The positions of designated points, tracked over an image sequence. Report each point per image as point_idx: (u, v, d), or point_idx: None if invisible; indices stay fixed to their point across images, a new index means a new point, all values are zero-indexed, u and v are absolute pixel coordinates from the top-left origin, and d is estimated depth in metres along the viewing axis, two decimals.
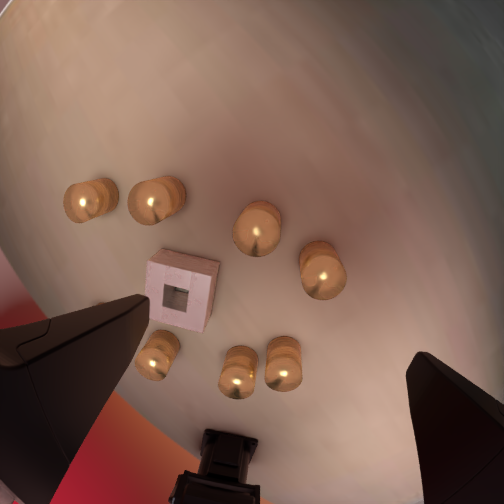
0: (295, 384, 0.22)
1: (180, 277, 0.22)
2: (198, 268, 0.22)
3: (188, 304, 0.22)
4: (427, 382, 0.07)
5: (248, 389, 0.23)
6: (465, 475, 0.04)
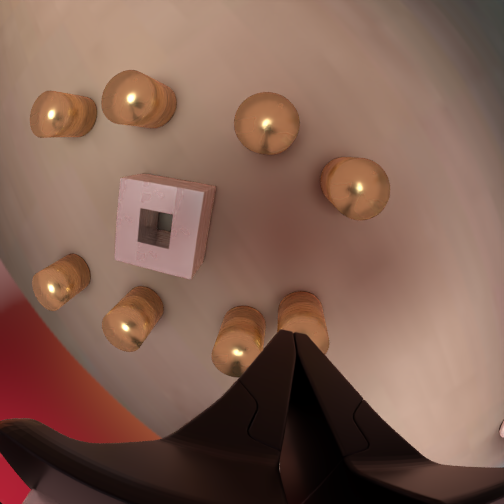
0: None
1: (162, 197, 0.15)
2: (187, 186, 0.16)
3: (172, 236, 0.16)
4: None
5: None
6: (309, 489, 0.04)
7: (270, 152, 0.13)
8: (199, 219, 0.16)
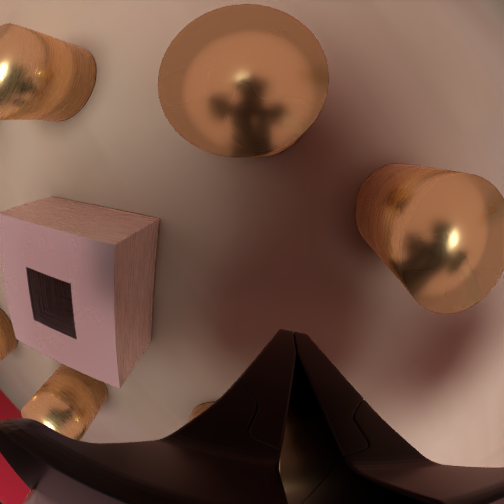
0: None
1: (50, 250, 0.07)
2: (94, 227, 0.08)
3: (76, 320, 0.08)
4: None
5: None
6: (310, 489, 0.04)
7: (250, 151, 0.05)
8: (114, 296, 0.07)
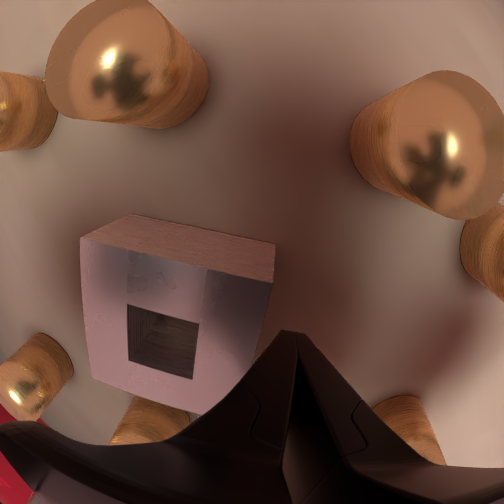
0: None
1: (173, 286, 0.07)
2: (227, 259, 0.08)
3: (198, 361, 0.08)
4: None
5: None
6: (308, 489, 0.04)
7: (465, 216, 0.05)
8: (258, 335, 0.07)
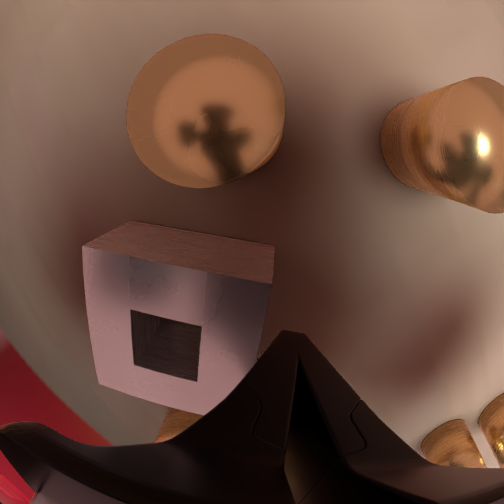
0: None
1: (174, 290, 0.07)
2: (226, 262, 0.08)
3: (202, 363, 0.08)
4: None
5: None
6: (306, 489, 0.04)
7: None
8: (260, 335, 0.07)
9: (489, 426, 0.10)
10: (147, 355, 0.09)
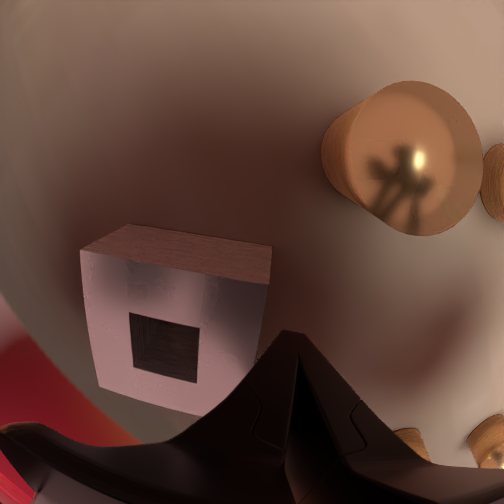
0: None
1: (172, 293, 0.07)
2: (223, 263, 0.08)
3: (201, 364, 0.08)
4: None
5: None
6: (307, 489, 0.04)
7: None
8: (258, 336, 0.07)
9: None
10: (147, 357, 0.09)
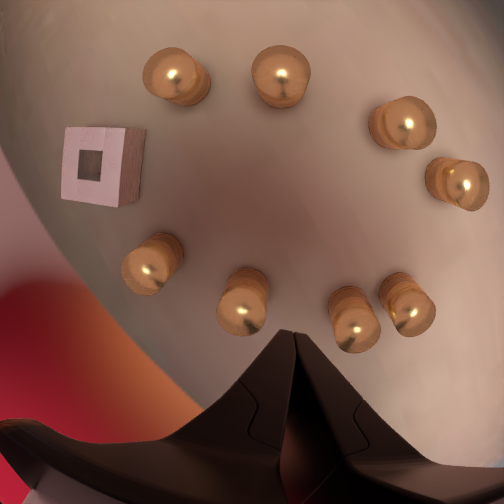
0: (426, 325, 0.17)
1: (95, 137, 0.16)
2: None
3: (102, 169, 0.17)
4: None
5: (373, 337, 0.18)
6: (310, 489, 0.04)
7: (415, 148, 0.14)
8: (122, 152, 0.16)
9: (384, 296, 0.20)
10: (84, 178, 0.18)
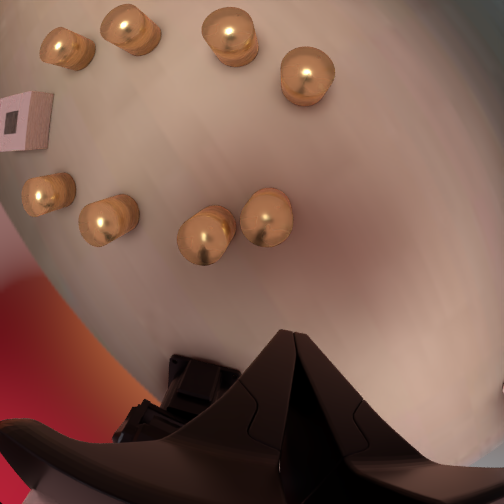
0: (284, 232, 0.17)
1: (15, 101, 0.17)
2: None
3: (17, 124, 0.17)
4: None
5: (218, 245, 0.18)
6: (310, 489, 0.04)
7: (229, 46, 0.14)
8: (29, 108, 0.17)
9: None
10: (9, 134, 0.18)
